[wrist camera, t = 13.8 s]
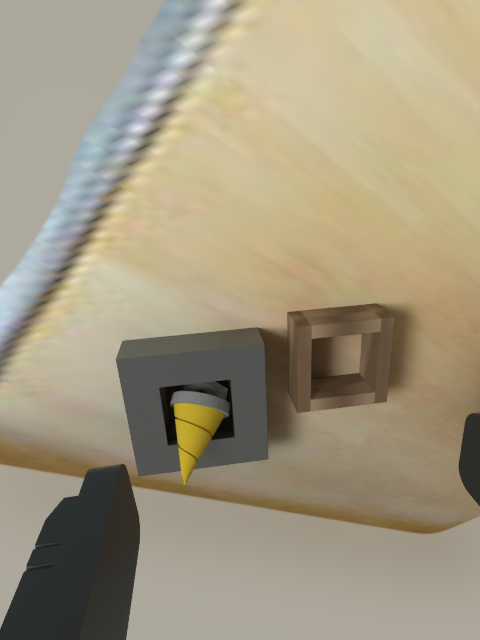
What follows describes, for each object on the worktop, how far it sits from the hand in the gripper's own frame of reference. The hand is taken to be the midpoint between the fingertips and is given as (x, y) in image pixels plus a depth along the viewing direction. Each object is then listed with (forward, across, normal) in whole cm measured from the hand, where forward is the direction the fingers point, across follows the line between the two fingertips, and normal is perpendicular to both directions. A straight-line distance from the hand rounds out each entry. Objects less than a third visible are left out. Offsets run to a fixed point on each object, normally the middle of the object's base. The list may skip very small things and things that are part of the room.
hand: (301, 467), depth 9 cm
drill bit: (+26, +4, +14) cm, 29 cm away
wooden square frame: (+26, -9, +11) cm, 29 cm away
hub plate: (+25, +4, +13) cm, 29 cm away
